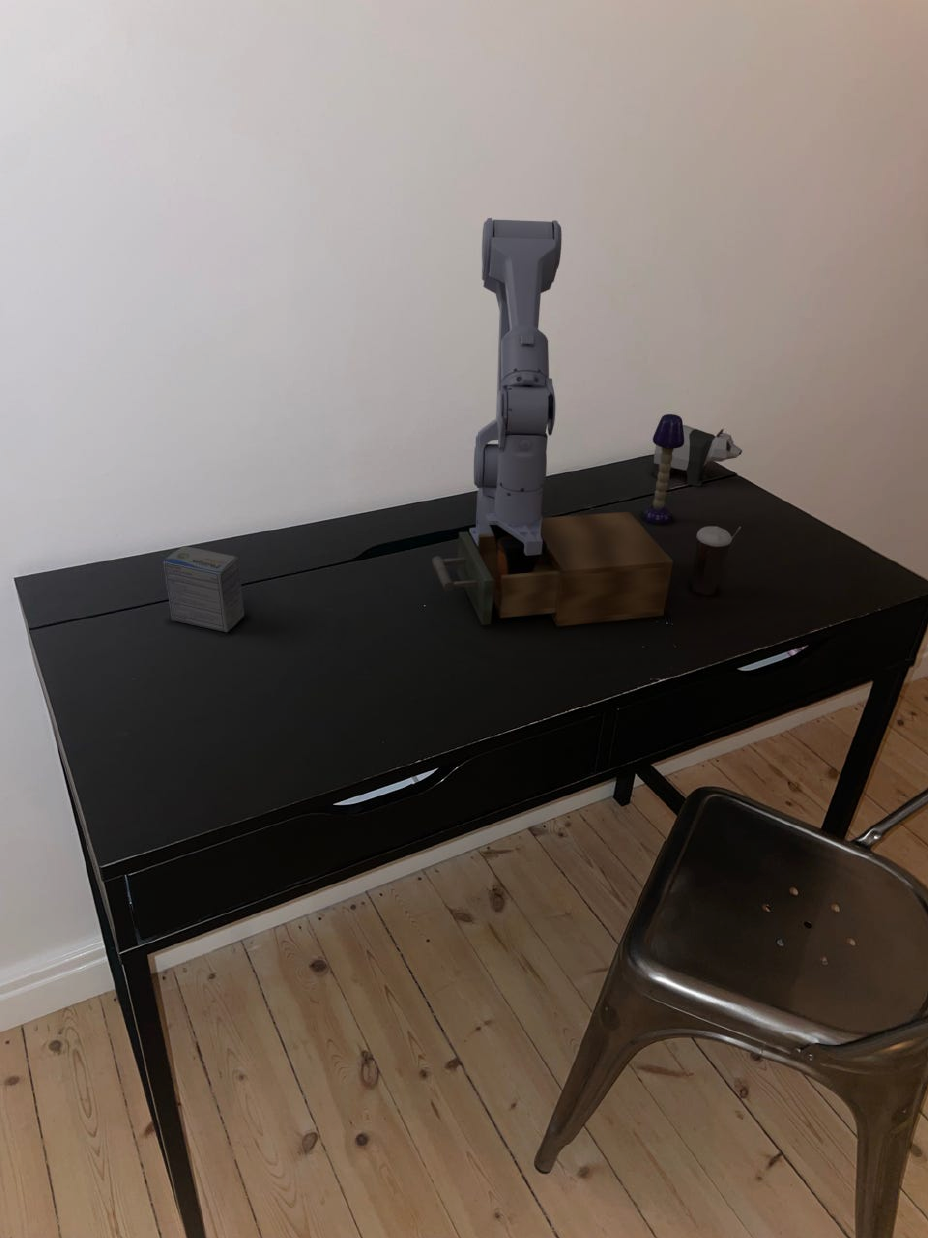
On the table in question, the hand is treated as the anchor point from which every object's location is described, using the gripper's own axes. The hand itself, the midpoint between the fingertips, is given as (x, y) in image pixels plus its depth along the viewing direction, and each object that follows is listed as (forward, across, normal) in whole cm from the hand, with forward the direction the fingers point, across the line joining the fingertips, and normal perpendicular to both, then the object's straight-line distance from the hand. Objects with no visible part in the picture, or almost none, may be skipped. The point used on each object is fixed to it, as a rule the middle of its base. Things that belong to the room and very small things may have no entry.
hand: (512, 578), depth 125 cm
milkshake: (+3, +2, +27) cm, 27 cm away
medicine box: (+3, -2, -39) cm, 39 cm away
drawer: (+2, 0, -1) cm, 3 cm away
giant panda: (+3, -34, +41) cm, 54 cm away
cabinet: (+3, 0, +11) cm, 12 cm away
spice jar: (+1, 0, 0) cm, 1 cm away
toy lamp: (+3, -20, +29) cm, 36 cm away
